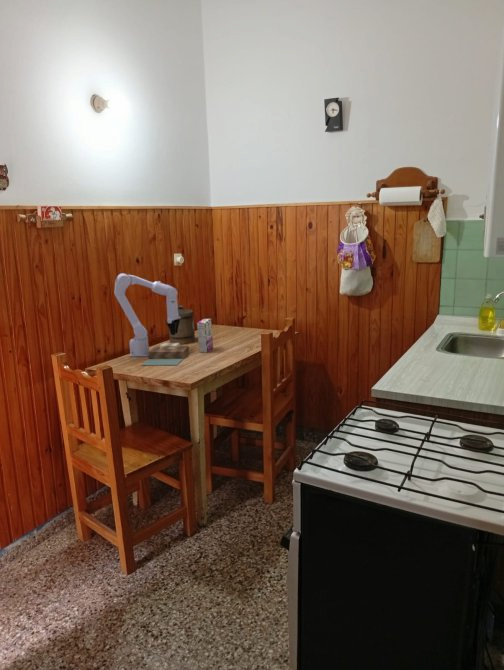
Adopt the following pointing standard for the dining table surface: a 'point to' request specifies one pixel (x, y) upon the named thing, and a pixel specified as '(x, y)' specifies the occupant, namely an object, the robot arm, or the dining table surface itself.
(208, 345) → the candy bar box
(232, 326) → the dining table surface
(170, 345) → the birch tile
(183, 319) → the wooden container
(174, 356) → the walnut board
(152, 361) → the rubber mat
